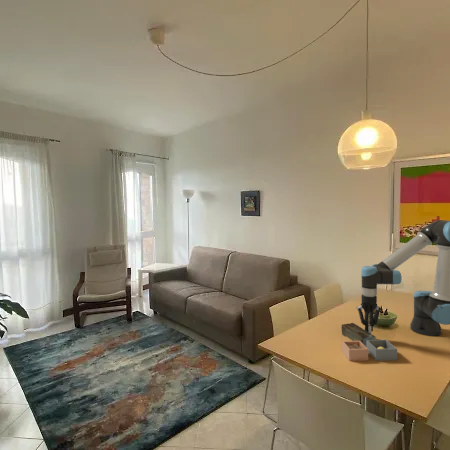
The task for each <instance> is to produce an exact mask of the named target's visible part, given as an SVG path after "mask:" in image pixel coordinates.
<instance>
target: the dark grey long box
mask: <svg viewBox="0 0 450 450" xmlns="http://www.w3.org/2000/svg"><path fill="white" fill-rule="evenodd" d="M341 335H342V336H344V337H346V338H348V339H349V340H350V341H361V342H362V343H363V344H364V345H365V346H366V340H377V337H376V336H375V335H374V334H372V333H371V334H370V333H369V332H367V331H366V330H365V328H362V327H361V326H359V325H357V324H356V323H354V322H350V323H344V324H341Z"/></svg>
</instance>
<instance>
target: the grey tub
mask: <svg viewBox="0 0 450 450" xmlns="http://www.w3.org/2000/svg"><path fill="white" fill-rule="evenodd" d="M366 347H367V348H368V355H370V356H371V357H372V358H373V359H374V360H375V362H377V361H378V362H379V361H382V362H384V361H398V348H397V347H396V346H394V345H393V344H392V343H391V342H390V341H389V340H387V339H376V340H366ZM378 347H383V348H384V349H377V348H378Z"/></svg>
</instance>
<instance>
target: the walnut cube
mask: <svg viewBox="0 0 450 450" xmlns="http://www.w3.org/2000/svg"><path fill="white" fill-rule="evenodd" d="M348 347H349V348H350V349H362V348H361V347H359V346H357V345H356V344H354V345H348Z"/></svg>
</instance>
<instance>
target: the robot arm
mask: <svg viewBox="0 0 450 450" xmlns="http://www.w3.org/2000/svg"><path fill="white" fill-rule="evenodd" d="M435 243H436V244H435ZM433 244H435V245H436V247H437V248H438V253H437V261H436V266H435V267H436V268H435V275H434V284H433V289H432V290H416V291H414V294H413V317H412V320H411V322H410V326H409V328H410V330H411V331H413V332H414V333H417V334H420V335H424V336H431V337H434V336H435V337H436V336H441V335H442V326H441V325H444V326H448V325H450V220H444V219H441V220H440V219H438V220H435V221H433V222H431V223H429V224H427V225H426V226H424V227H423V228H422V229H420V230H419V231H417V233H416V235H415V236H414V237H412V238H411V239H410V240H409V241H407V242H406V243H405V244H403V245H402V246H400V247H398V249H396V250H395V251H394V252H393V253H391V254H390V255H388V256H387V257H385V258H384V259H382V261H380V262H379V263H375V264H371V265H365V266H363V267H362V268H361V275H360V276H361V303H360V305H359V306H356V310H357V311H358V315H359V318H360V322H361V324H362V325H363V326H364V330H366V331H367V332H369V333H370V334H372V332H374V327H375V326H376V325H377V324H378V322H379V321H378V320H379V316H380V313H381V311H382V308H381V306H379V305H378V304H377V303H378V301H377V300H378V285H393V286H394V285H399V284H401V282H402V273H401V272H400V270H398V267H400V266H401V265H402V264H404V263H405V262H407V261H408V260H409V259H410V258H411V259H412V257H414V256H415V255H416V254H418V253H419V252H420V251H422V250H423V249H425V248H426V247H427V246H433Z"/></svg>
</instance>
